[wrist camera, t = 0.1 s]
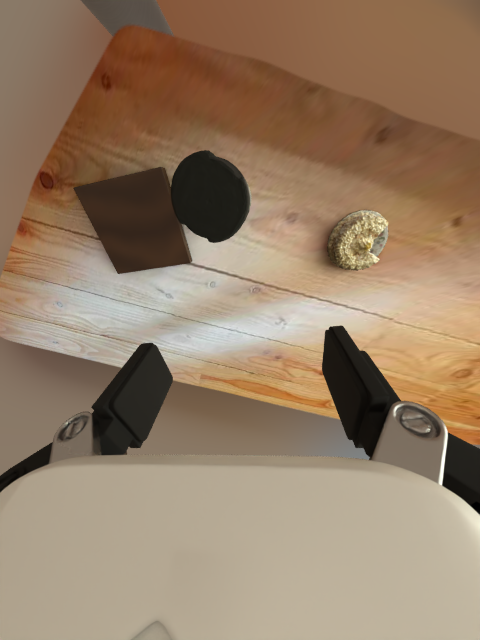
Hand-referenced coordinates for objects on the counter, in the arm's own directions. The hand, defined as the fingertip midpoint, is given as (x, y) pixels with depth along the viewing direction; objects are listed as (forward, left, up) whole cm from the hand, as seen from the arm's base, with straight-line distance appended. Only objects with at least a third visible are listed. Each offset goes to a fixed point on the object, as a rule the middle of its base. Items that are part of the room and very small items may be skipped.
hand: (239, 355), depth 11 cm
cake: (+2, +19, -31) cm, 36 cm away
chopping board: (-6, -20, -30) cm, 37 cm away
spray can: (-8, -2, -31) cm, 32 cm away
